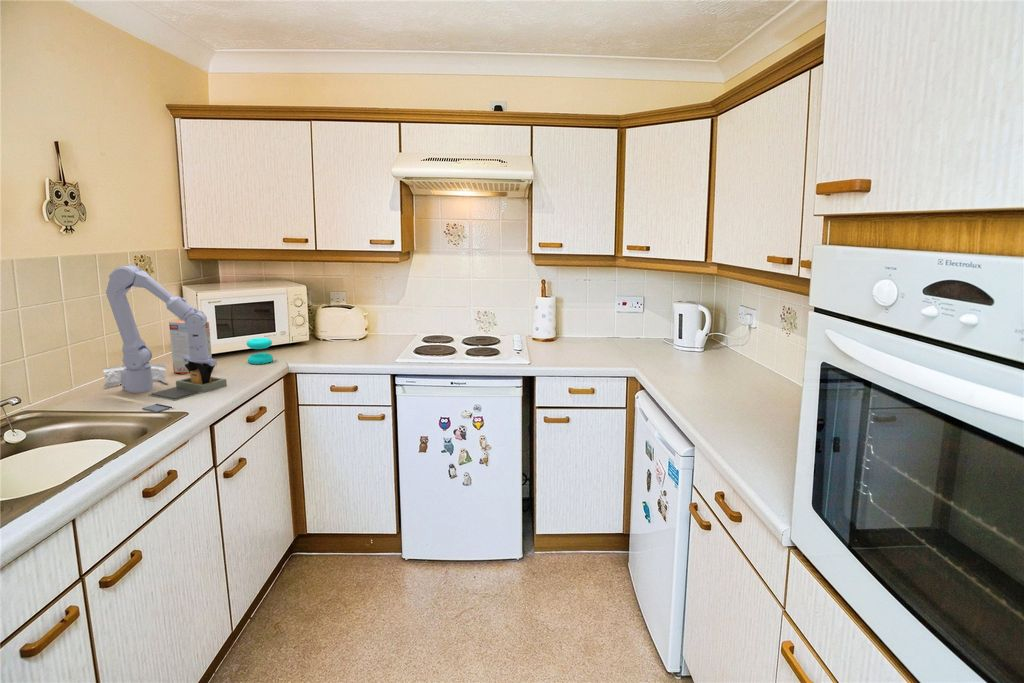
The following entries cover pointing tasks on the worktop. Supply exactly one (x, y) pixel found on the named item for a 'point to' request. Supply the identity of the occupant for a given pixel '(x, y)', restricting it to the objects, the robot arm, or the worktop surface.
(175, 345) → the cracker box
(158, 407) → the mat
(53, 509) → the worktop surface
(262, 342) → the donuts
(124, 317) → the robot arm
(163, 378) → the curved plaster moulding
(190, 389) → the grey-green tray
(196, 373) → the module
